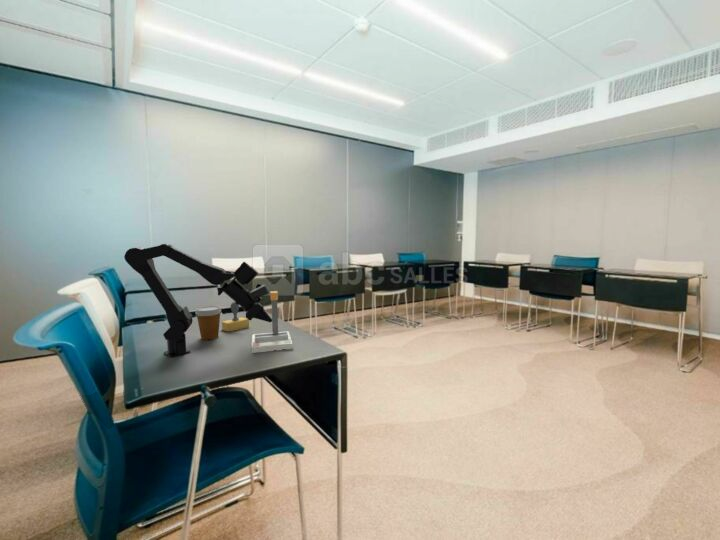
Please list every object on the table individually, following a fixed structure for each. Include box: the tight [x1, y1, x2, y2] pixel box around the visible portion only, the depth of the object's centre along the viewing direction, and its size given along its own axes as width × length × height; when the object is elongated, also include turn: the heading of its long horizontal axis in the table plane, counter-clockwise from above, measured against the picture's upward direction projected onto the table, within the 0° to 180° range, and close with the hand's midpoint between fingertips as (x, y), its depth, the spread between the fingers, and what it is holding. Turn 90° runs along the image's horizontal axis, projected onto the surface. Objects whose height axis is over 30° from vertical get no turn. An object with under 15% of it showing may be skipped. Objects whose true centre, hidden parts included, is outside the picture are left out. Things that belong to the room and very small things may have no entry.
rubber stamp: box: [221, 301, 250, 332], centre depth 146 cm, size 10×6×12 cm, turn 140°
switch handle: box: [269, 290, 279, 335], centre depth 125 cm, size 3×3×18 cm
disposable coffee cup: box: [194, 305, 222, 341], centre depth 133 cm, size 10×10×12 cm
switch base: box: [251, 330, 293, 354], centre depth 125 cm, size 14×16×4 cm
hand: (271, 321), depth 125 cm, fingers closed, pressing on switch handle
